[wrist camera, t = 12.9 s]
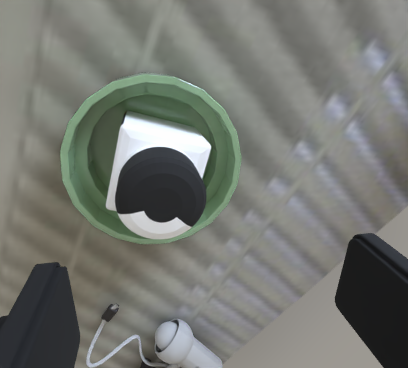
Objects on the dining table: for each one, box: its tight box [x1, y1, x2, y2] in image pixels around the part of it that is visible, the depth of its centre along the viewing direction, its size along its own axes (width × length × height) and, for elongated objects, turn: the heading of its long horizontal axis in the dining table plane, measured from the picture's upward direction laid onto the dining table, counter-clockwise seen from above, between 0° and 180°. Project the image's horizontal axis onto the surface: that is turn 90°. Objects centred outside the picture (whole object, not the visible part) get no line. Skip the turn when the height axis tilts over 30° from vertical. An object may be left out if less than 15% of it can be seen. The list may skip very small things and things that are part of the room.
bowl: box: [60, 72, 241, 244], centre depth 27 cm, size 15×15×6 cm
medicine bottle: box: [106, 111, 211, 239], centre depth 24 cm, size 7×7×12 cm
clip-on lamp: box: [86, 304, 223, 368], centre depth 37 cm, size 12×6×18 cm
